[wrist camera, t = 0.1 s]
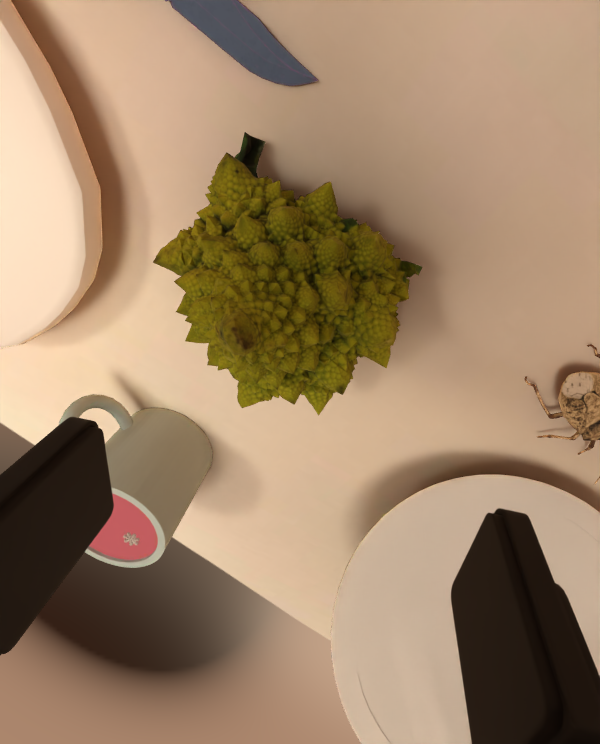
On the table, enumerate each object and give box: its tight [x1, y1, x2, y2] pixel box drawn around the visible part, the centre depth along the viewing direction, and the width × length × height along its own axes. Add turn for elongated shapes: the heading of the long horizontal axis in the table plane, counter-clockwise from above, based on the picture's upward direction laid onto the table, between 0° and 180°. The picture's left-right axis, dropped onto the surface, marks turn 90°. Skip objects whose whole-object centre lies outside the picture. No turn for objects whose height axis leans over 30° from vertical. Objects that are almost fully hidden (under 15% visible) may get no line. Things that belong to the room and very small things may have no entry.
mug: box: [59, 394, 213, 567], centre depth 36 cm, size 14×9×10 cm
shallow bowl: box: [331, 474, 600, 744], centre depth 34 cm, size 25×25×6 cm
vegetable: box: [153, 132, 422, 415], centre depth 26 cm, size 15×16×15 cm
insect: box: [525, 344, 600, 484], centre depth 30 cm, size 9×10×2 cm
